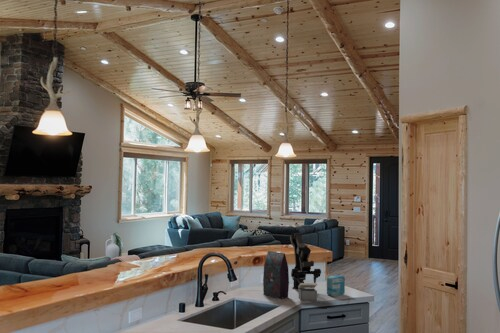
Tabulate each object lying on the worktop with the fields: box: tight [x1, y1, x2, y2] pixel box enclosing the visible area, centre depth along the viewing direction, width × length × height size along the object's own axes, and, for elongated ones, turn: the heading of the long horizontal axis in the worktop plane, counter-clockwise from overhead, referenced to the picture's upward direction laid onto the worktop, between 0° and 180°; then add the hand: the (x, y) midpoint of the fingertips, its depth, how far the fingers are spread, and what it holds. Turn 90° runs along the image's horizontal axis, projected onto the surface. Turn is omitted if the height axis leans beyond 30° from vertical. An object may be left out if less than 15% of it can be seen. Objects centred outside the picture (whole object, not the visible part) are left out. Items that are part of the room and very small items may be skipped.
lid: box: [298, 282, 318, 289], centre depth 281 cm, size 8×10×1 cm
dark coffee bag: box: [262, 250, 290, 300], centre depth 289 cm, size 8×16×28 cm, turn 41°
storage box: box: [298, 288, 318, 302], centre depth 280 cm, size 8×10×6 cm
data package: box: [326, 274, 346, 297], centre depth 294 cm, size 12×4×12 cm, turn 124°
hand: (307, 284), depth 280 cm, fingers open, 9 cm apart
